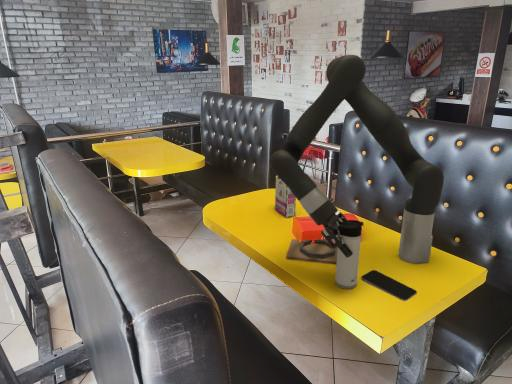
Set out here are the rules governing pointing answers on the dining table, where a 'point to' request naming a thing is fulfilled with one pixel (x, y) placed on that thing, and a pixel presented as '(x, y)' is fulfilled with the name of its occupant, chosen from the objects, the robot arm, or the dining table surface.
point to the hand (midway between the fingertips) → (354, 249)
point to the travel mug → (349, 266)
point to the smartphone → (388, 285)
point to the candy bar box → (284, 199)
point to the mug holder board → (312, 251)
